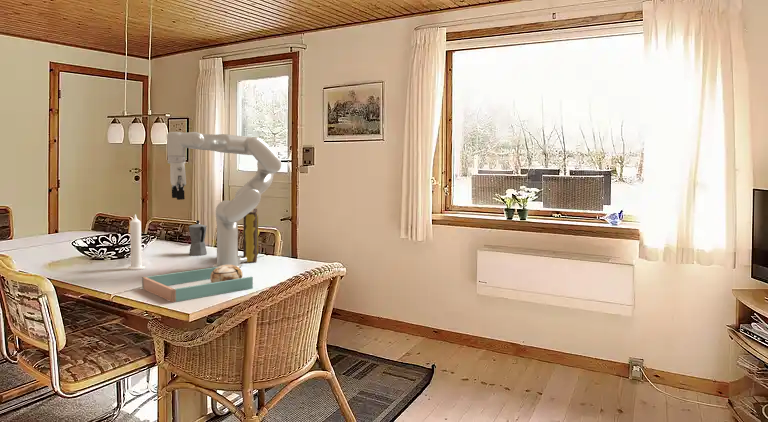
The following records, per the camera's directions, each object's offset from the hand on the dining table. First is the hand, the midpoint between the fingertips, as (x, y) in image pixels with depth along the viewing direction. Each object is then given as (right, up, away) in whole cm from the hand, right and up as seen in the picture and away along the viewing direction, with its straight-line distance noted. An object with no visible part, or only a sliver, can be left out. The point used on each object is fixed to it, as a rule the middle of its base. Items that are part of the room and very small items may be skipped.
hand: (178, 198), depth 243 cm
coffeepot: (-6, -29, +44) cm, 53 cm away
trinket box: (+27, -36, -18) cm, 48 cm away
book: (+23, -30, +37) cm, 53 cm away
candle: (-22, -32, +7) cm, 39 cm away
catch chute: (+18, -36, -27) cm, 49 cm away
